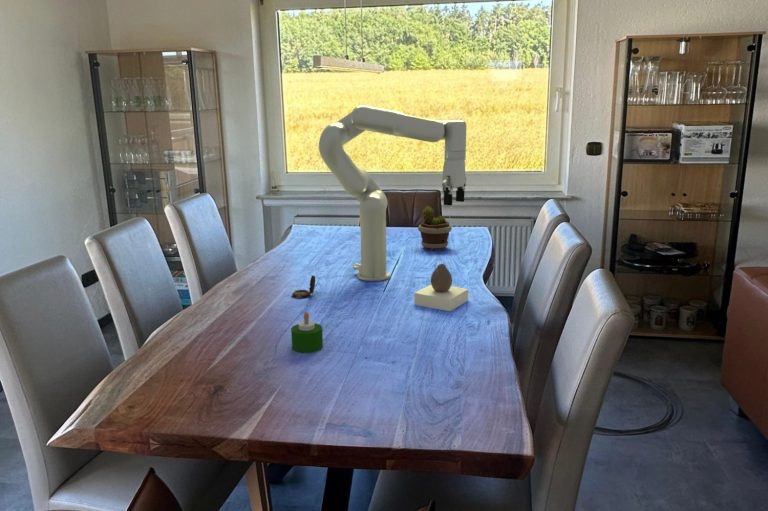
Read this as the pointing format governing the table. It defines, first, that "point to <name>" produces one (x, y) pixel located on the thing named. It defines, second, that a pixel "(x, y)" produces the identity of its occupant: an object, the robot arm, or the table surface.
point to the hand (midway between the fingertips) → (454, 203)
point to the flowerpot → (434, 231)
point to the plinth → (441, 298)
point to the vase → (441, 279)
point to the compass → (304, 292)
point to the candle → (307, 336)
